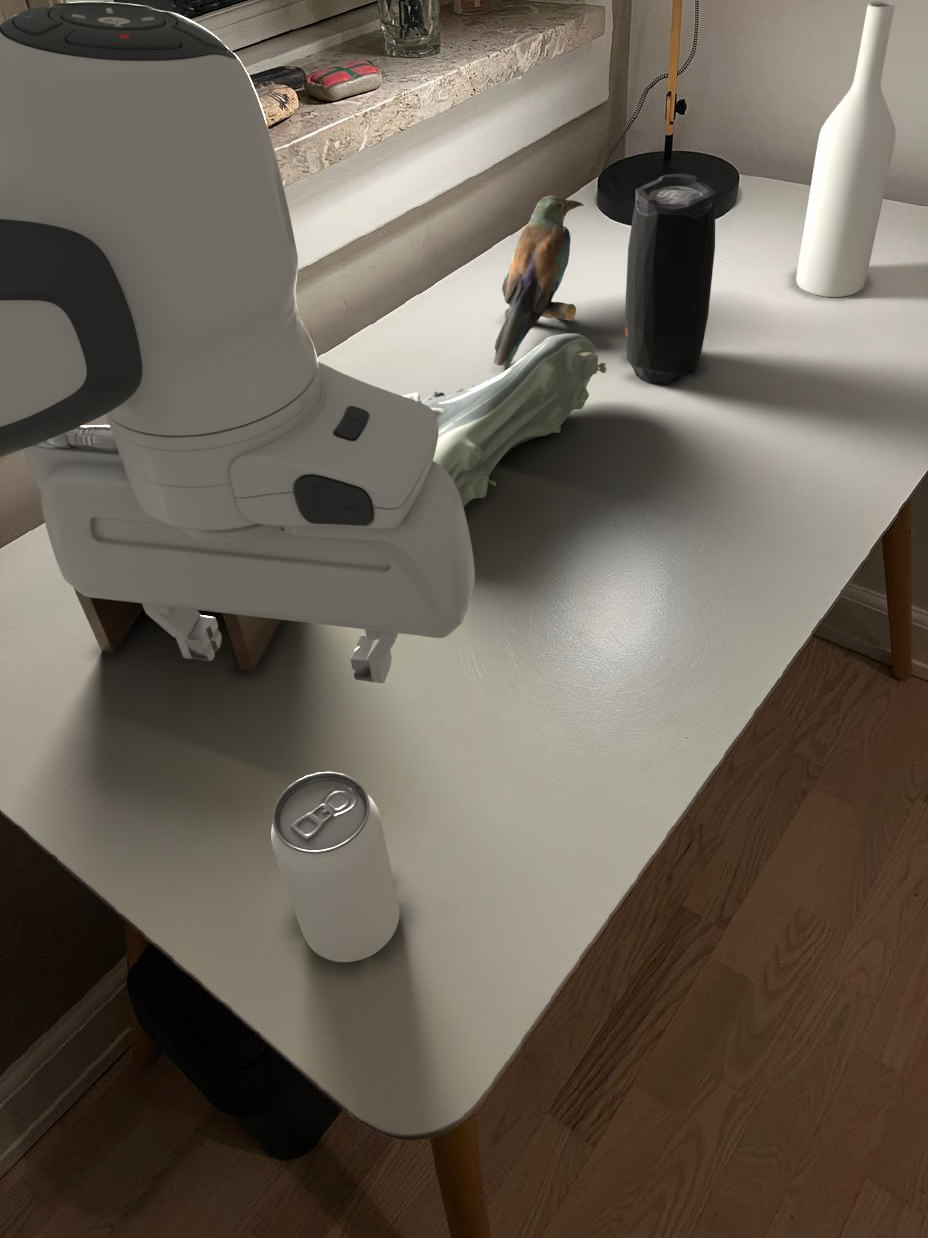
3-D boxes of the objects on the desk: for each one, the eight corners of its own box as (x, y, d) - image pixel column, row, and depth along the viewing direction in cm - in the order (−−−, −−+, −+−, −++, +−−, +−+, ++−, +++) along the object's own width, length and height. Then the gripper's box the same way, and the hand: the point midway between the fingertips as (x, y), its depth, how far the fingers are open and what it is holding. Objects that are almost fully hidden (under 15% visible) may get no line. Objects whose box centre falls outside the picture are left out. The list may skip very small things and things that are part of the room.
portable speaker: (616, 384, 112) (622, 204, 99) (633, 342, 118) (640, 168, 105) (696, 391, 110) (713, 209, 96) (708, 348, 116) (726, 171, 103)
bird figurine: (545, 374, 113) (577, 180, 108) (464, 361, 117) (491, 173, 112) (582, 379, 125) (612, 204, 120) (508, 367, 129) (534, 197, 124)
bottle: (873, 274, 126) (932, -5, 106) (853, 302, 121) (912, 17, 101) (807, 262, 130) (852, -10, 109) (786, 290, 125) (829, 11, 104)
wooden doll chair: (101, 651, 87) (43, 521, 78) (165, 556, 96) (120, 429, 86) (253, 671, 84) (213, 539, 75) (305, 572, 93) (275, 441, 83)
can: (421, 915, 67) (400, 805, 59) (348, 986, 64) (315, 880, 56) (354, 859, 70) (326, 748, 62) (281, 924, 67) (241, 816, 59)
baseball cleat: (619, 315, 103) (494, 281, 110) (443, 456, 87) (310, 405, 94) (615, 403, 110) (497, 366, 117) (451, 549, 94) (326, 495, 101)
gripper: (-28, 460, 44) (79, 681, 53) (435, 501, 39) (461, 733, 49) (48, 383, 48) (134, 600, 58) (472, 411, 44) (489, 641, 53)
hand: (287, 662), depth 53 cm, fingers open, 8 cm apart
